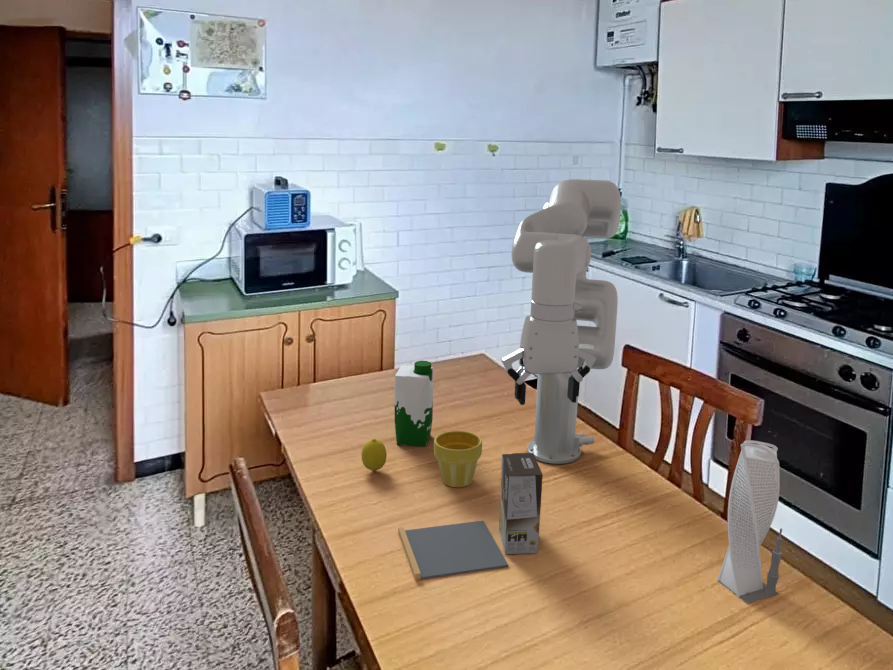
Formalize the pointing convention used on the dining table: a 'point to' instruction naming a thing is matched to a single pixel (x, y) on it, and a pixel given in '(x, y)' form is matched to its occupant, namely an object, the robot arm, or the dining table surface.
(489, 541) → the mat
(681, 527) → the dining table surface
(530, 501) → the coffee box
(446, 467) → the plant pot
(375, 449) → the lemon
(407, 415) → the milk carton
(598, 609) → the dining table surface
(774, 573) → the skyscraper
